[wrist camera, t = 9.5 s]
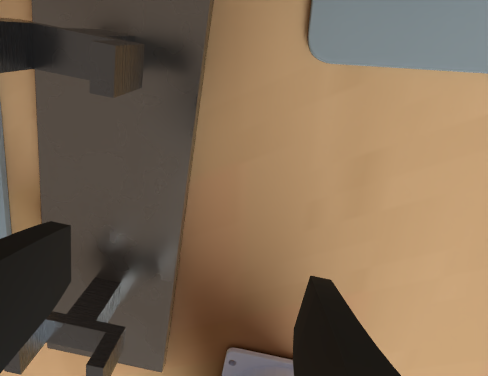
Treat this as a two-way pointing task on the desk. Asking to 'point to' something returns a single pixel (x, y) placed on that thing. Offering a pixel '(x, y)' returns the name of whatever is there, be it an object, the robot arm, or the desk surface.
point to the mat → (3, 190)
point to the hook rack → (113, 164)
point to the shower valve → (401, 33)
